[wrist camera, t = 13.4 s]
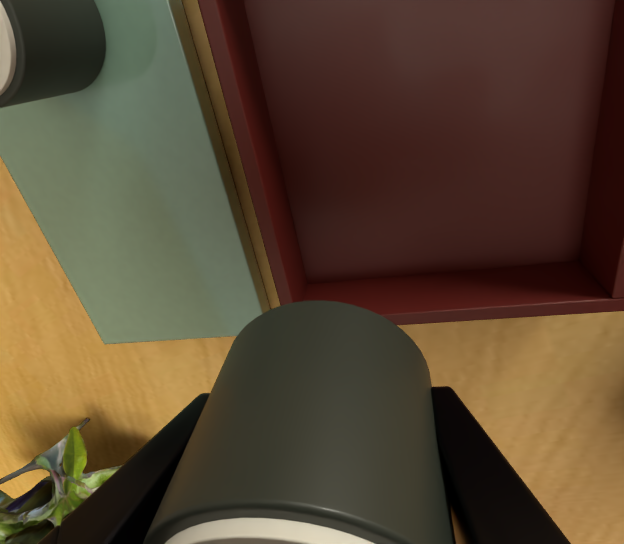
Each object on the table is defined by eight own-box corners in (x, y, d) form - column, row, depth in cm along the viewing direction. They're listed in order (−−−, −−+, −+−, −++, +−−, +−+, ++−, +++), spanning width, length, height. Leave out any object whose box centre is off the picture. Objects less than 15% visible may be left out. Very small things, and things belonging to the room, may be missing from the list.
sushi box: (586, 264, 18) (627, 311, 15) (300, 288, 21) (287, 332, 18) (668, -279, 11) (785, -403, 8) (202, -126, 13) (149, -172, 10)
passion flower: (125, 423, 38) (-25, 526, 31) (93, 351, 31) (-113, 465, 24) (197, 520, 33) (34, 670, 26) (178, 461, 25) (-55, 649, 19)
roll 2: (433, 446, 10) (470, 715, 6) (255, 447, 11) (189, 680, 7) (425, 289, 8) (475, 554, 4) (203, 306, 9) (62, 532, 5)
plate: (274, 320, 23) (269, 334, 22) (115, 331, 25) (103, 344, 24) (128, -188, 13) (106, -206, 12) (-110, -98, 15) (-146, -107, 14)
